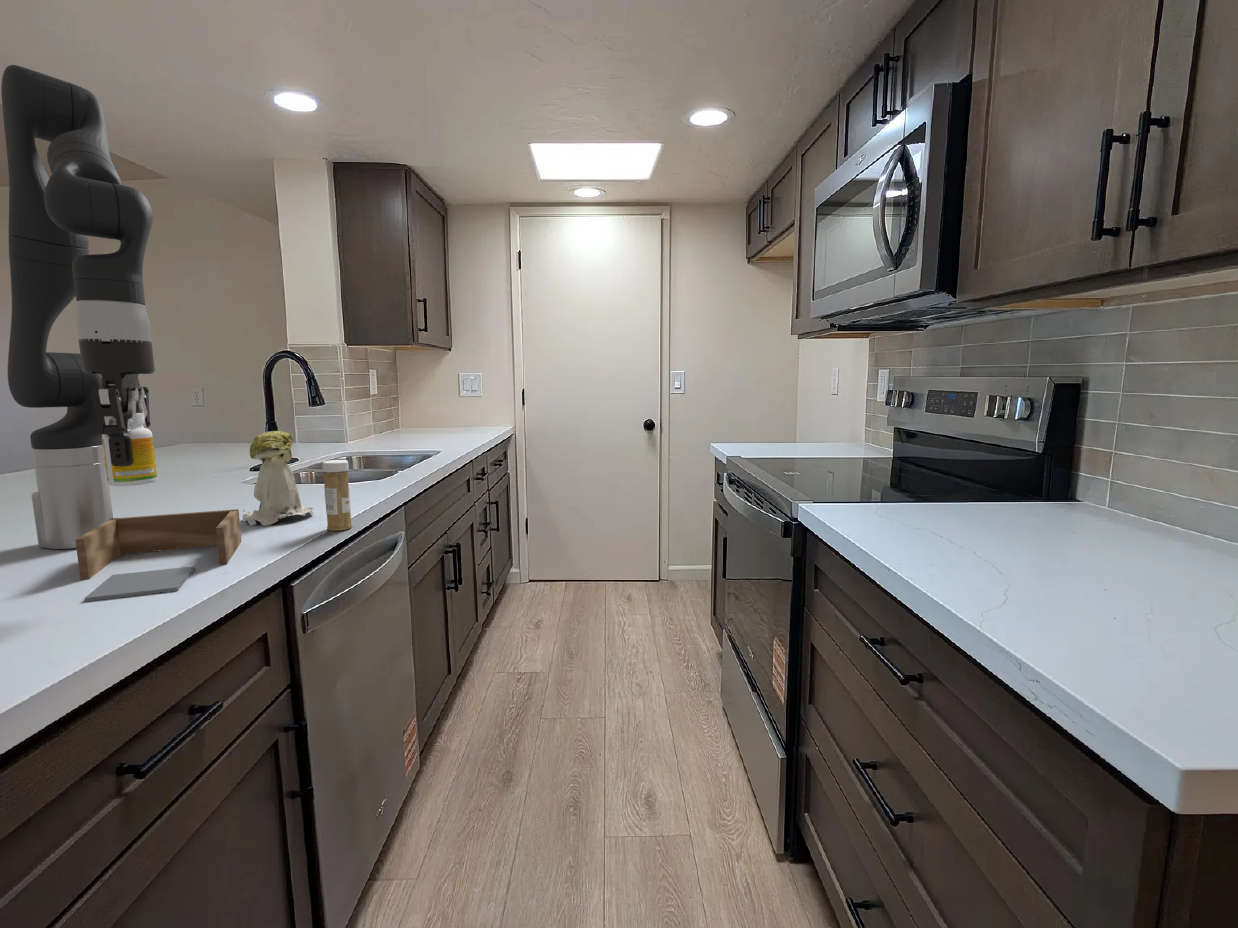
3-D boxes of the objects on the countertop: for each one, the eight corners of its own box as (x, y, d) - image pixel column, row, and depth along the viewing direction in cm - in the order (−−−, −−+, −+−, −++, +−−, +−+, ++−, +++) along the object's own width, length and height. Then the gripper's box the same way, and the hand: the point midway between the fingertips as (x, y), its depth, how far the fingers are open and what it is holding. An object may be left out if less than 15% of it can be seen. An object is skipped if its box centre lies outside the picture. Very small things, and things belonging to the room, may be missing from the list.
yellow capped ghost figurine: (327, 515, 126) (321, 430, 123) (267, 528, 115) (260, 435, 112) (291, 509, 131) (285, 427, 129) (231, 521, 120) (223, 432, 117)
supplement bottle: (167, 481, 83) (159, 413, 82) (124, 487, 78) (116, 415, 77) (141, 479, 85) (133, 412, 84) (98, 485, 80) (89, 414, 79)
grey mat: (112, 577, 86) (112, 574, 86) (194, 569, 90) (194, 566, 90) (85, 601, 77) (84, 597, 77) (177, 590, 81) (177, 587, 81)
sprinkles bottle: (355, 528, 115) (351, 461, 113) (331, 532, 112) (326, 463, 110) (347, 524, 118) (343, 458, 116) (323, 528, 115) (318, 460, 113)
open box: (115, 553, 98) (110, 518, 97) (241, 541, 105) (238, 509, 104) (80, 579, 85) (75, 539, 84) (226, 564, 93) (223, 527, 92)
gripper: (100, 340, 84) (114, 457, 86) (55, 333, 71) (73, 471, 73) (165, 342, 87) (177, 455, 89) (133, 336, 74) (147, 468, 76)
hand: (130, 462), depth 81 cm, fingers closed on supplement bottle, 5 cm apart
